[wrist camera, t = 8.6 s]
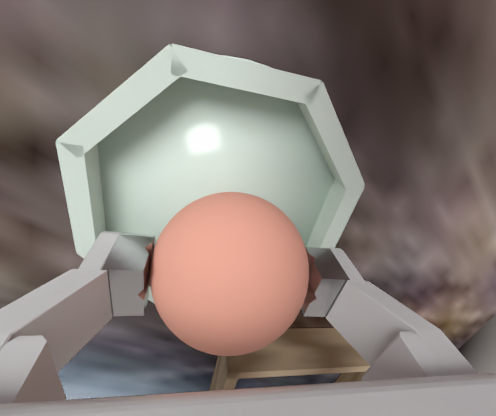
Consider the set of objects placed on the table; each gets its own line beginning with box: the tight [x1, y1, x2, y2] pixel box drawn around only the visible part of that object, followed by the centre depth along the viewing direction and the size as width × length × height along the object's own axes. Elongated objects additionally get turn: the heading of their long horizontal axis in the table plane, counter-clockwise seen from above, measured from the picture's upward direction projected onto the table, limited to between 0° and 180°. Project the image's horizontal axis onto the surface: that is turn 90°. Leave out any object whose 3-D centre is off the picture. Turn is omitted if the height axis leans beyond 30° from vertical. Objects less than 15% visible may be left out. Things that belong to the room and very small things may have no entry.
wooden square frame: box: [209, 328, 370, 391], centre depth 22 cm, size 14×14×3 cm
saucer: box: [56, 44, 365, 304], centre depth 11 cm, size 12×12×2 cm
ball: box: [150, 192, 309, 356], centre depth 8 cm, size 5×5×5 cm
